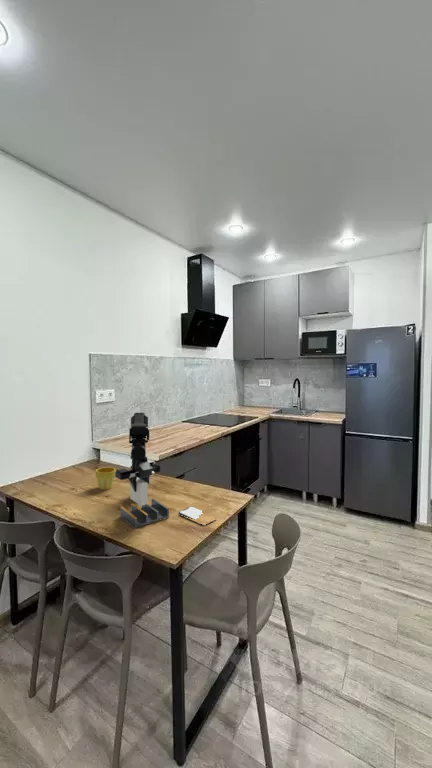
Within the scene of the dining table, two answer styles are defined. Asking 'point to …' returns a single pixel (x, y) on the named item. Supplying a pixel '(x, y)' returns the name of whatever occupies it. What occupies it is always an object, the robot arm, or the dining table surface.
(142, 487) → the panel
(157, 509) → the rack
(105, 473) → the plant pot
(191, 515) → the phone case
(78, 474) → the dining table surface
